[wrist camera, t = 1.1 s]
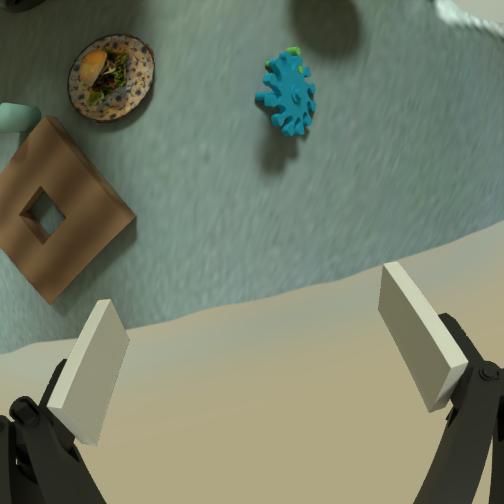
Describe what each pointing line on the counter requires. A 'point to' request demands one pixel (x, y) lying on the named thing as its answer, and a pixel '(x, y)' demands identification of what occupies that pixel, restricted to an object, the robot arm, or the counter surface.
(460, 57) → the counter surface
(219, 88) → the counter surface
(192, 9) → the counter surface
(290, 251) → the counter surface
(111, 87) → the burger
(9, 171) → the walnut hole board
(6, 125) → the short teal pin
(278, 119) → the gear
